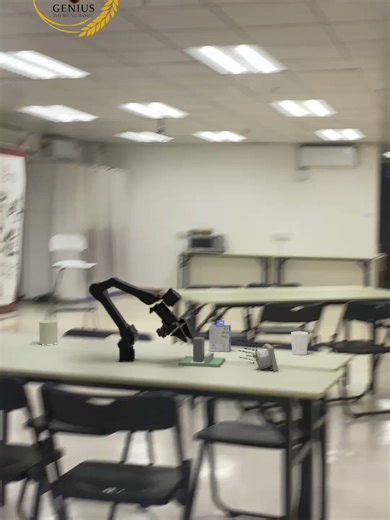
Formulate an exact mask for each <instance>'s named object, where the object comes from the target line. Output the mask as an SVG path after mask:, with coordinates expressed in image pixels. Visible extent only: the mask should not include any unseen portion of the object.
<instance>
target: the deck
mask: <svg viewBox="0 0 390 520" xmlns="http://www.w3.org/2000/svg"><path fill="white" fill-rule="evenodd" d="M214 356H215V355H214V352H208V353H206V354H205V360H204V361H203V362H193V355H190V356H189V355H188V356H187V355H185V356H184V357H183V358H182V359H181V360H180V361H178V362H177V365H178V366H183V365H185V366H187V367H204V368H205V367H207V368H208V367H209V368H220V367H221V366H222V365H223V363H224V362H225V361H226V357H214Z"/></svg>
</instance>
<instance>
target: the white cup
mask: <svg viewBox="0 0 390 520" xmlns="http://www.w3.org/2000/svg"><path fill="white" fill-rule="evenodd" d="M290 334H291V335H290V338H291V353H292V355H295V356H305V355H307V352H308V351H307V350H308V341H309V332H308V331H298V330H297V331H291V332H290Z"/></svg>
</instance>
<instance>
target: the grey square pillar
mask: <svg viewBox="0 0 390 520" xmlns="http://www.w3.org/2000/svg"><path fill="white" fill-rule="evenodd" d="M205 346H206V345H205V337H202V336H195V337H193V338H192V356H193V362H203V361H204V360H205V356H206V354H205Z"/></svg>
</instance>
